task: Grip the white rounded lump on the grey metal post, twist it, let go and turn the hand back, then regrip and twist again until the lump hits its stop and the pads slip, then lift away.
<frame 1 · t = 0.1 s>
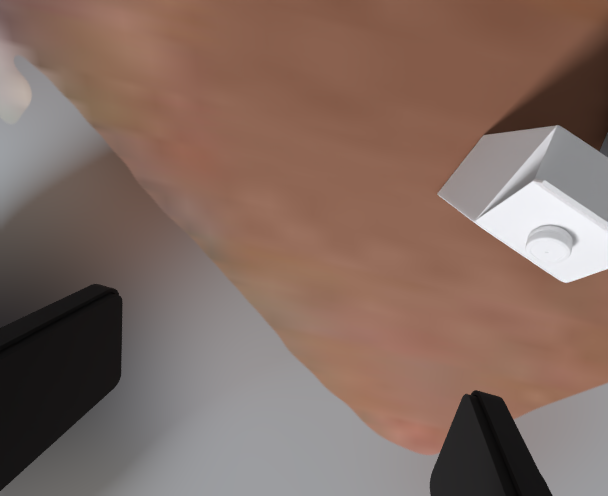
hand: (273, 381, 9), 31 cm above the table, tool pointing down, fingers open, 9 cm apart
milk carton: (487, 184, 35), on the table
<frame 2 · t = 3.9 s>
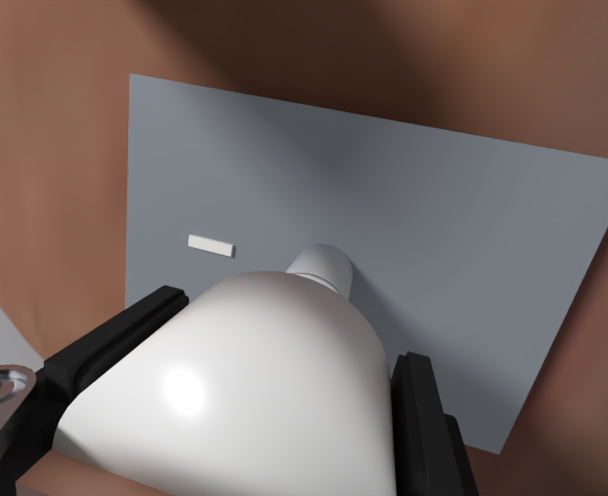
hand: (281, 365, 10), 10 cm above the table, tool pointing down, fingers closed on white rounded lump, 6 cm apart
white rounded lump: (246, 442, 7), point 13 cm above the table, hinge at 0.0°, touching gripper
post stand: (328, 260, 19), on the table
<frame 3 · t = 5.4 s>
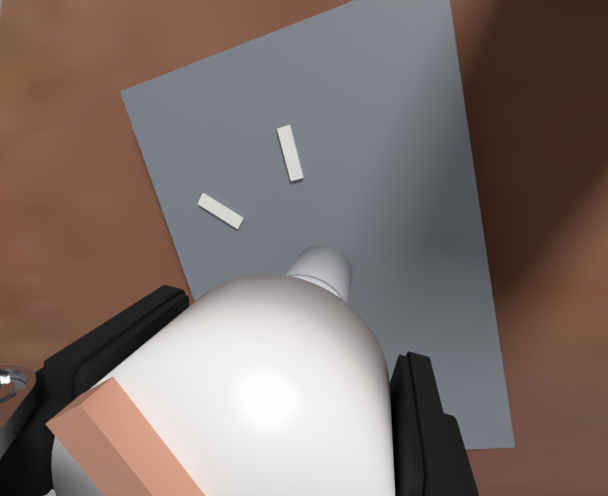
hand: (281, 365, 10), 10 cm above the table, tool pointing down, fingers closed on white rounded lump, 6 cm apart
white rounded lump: (246, 445, 7), point 12 cm above the table, hinge at 18.3°, touching gripper
post stand: (328, 261, 19), on the table
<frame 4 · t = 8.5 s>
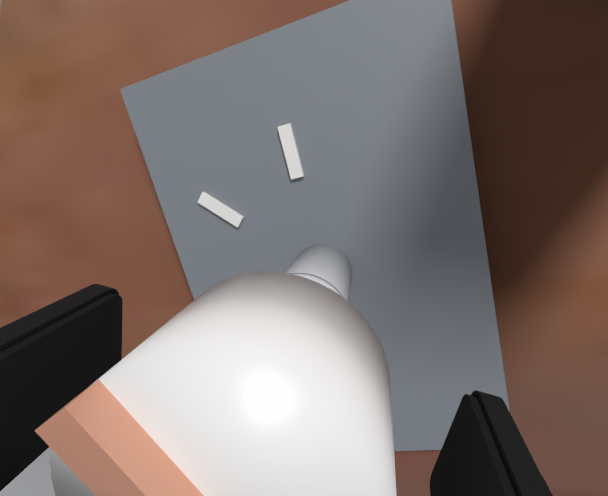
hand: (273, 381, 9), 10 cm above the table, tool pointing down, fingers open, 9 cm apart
white rounded lump: (246, 443, 7), point 12 cm above the table, hinge at 24.2°
post stand: (328, 260, 19), on the table
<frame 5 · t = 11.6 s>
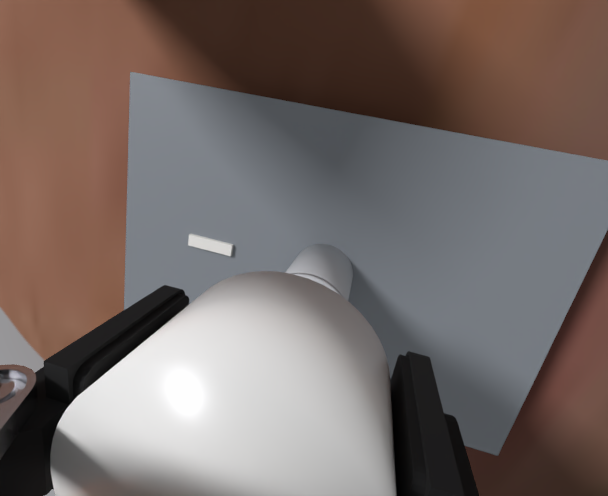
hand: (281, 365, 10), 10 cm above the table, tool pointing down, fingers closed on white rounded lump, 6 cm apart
white rounded lump: (246, 443, 7), point 13 cm above the table, hinge at 24.2°, touching gripper
post stand: (328, 260, 19), on the table
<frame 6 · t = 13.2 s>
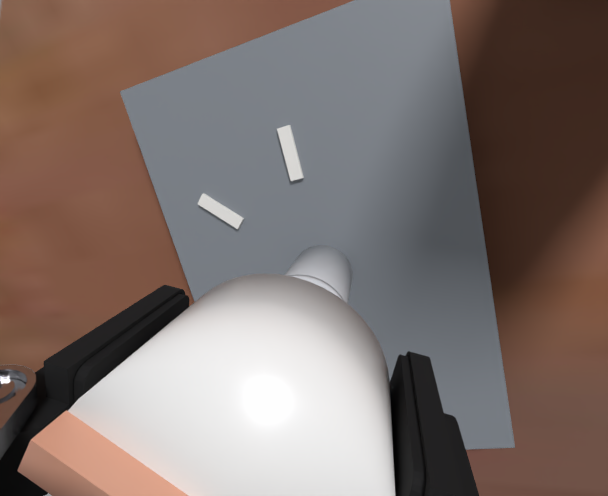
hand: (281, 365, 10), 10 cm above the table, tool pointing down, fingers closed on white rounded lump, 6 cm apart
white rounded lump: (246, 445, 7), point 12 cm above the table, hinge at 42.6°, touching gripper
post stand: (328, 261, 19), on the table
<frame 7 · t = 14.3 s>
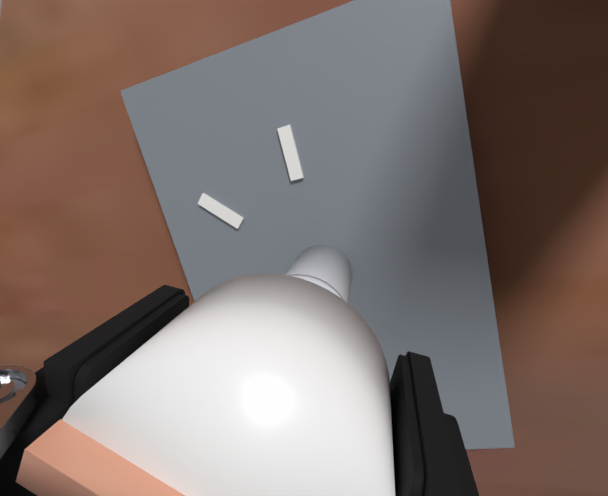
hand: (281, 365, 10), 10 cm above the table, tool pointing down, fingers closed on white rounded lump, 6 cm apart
white rounded lump: (246, 444, 7), point 12 cm above the table, hinge at 47.8°, touching gripper
post stand: (328, 261, 19), on the table
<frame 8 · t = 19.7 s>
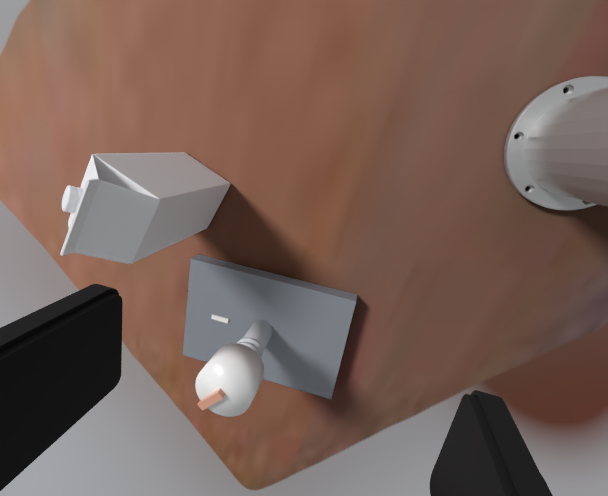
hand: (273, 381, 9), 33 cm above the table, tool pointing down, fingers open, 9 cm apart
white rounded lump: (230, 380, 36), point 13 cm above the table, hinge at 48.3°
milk carton: (197, 191, 44), on the table
post stand: (266, 323, 47), on the table
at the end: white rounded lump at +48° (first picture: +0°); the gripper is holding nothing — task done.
